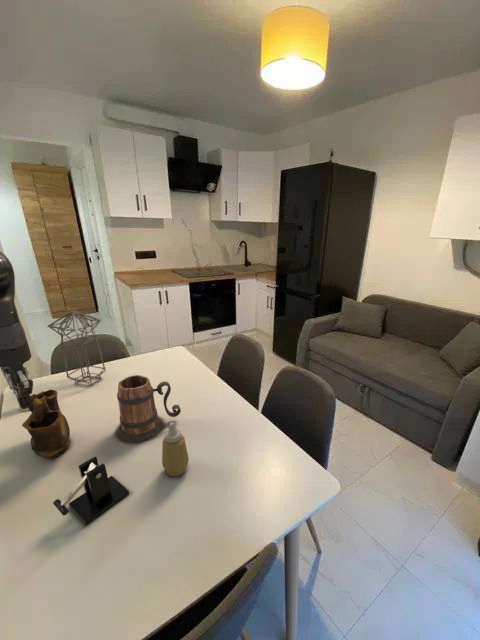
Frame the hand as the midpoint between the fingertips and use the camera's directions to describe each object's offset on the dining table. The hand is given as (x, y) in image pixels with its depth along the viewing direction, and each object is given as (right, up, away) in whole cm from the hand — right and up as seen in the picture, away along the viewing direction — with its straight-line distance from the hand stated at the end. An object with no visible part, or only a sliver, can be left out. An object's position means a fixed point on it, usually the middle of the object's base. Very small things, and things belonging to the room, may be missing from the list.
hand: (26, 406), depth 72 cm
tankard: (+15, -15, +39) cm, 45 cm away
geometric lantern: (-25, -1, +67) cm, 71 cm away
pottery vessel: (-12, -19, +26) cm, 35 cm away
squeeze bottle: (+31, -24, +20) cm, 44 cm away
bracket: (+13, -28, +9) cm, 32 cm away
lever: (+12, -22, +3) cm, 25 cm away
